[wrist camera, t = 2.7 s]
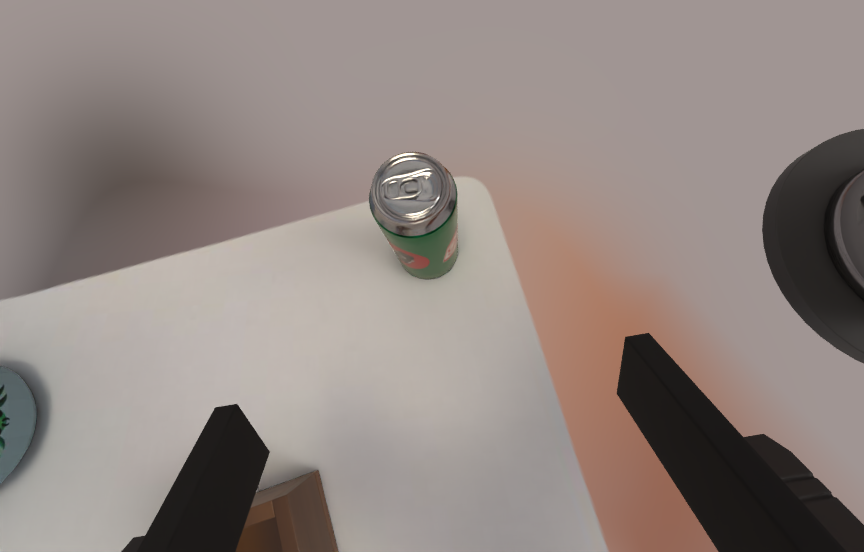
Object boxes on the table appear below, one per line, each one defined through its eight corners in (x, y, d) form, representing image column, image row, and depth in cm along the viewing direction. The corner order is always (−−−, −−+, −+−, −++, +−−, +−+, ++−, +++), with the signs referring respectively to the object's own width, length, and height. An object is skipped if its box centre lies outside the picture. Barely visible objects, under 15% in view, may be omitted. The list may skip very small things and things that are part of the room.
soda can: (460, 277, 30) (461, 226, 19) (401, 283, 30) (365, 235, 19) (454, 221, 31) (452, 140, 20) (398, 227, 32) (362, 150, 20)
